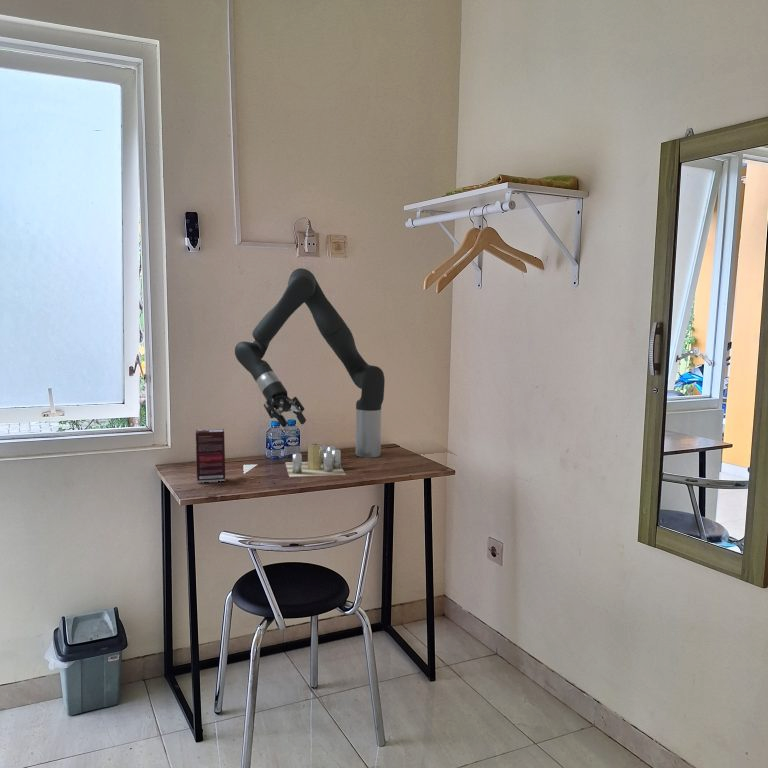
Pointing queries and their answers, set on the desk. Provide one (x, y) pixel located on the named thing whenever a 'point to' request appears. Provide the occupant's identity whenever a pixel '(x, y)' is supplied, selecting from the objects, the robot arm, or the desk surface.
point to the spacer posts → (328, 459)
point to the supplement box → (210, 455)
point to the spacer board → (311, 471)
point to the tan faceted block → (314, 456)
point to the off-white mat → (248, 467)
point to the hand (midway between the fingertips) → (294, 424)
